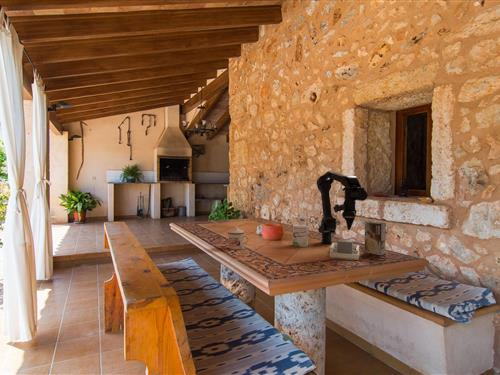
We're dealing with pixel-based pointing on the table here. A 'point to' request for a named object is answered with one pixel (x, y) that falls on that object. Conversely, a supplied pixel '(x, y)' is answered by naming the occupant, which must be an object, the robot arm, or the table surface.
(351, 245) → the grey block
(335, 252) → the tray
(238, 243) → the teacup with lid
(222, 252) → the table surface
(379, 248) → the coffee box
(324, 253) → the table surface
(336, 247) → the bay
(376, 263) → the table surface
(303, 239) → the ink box
